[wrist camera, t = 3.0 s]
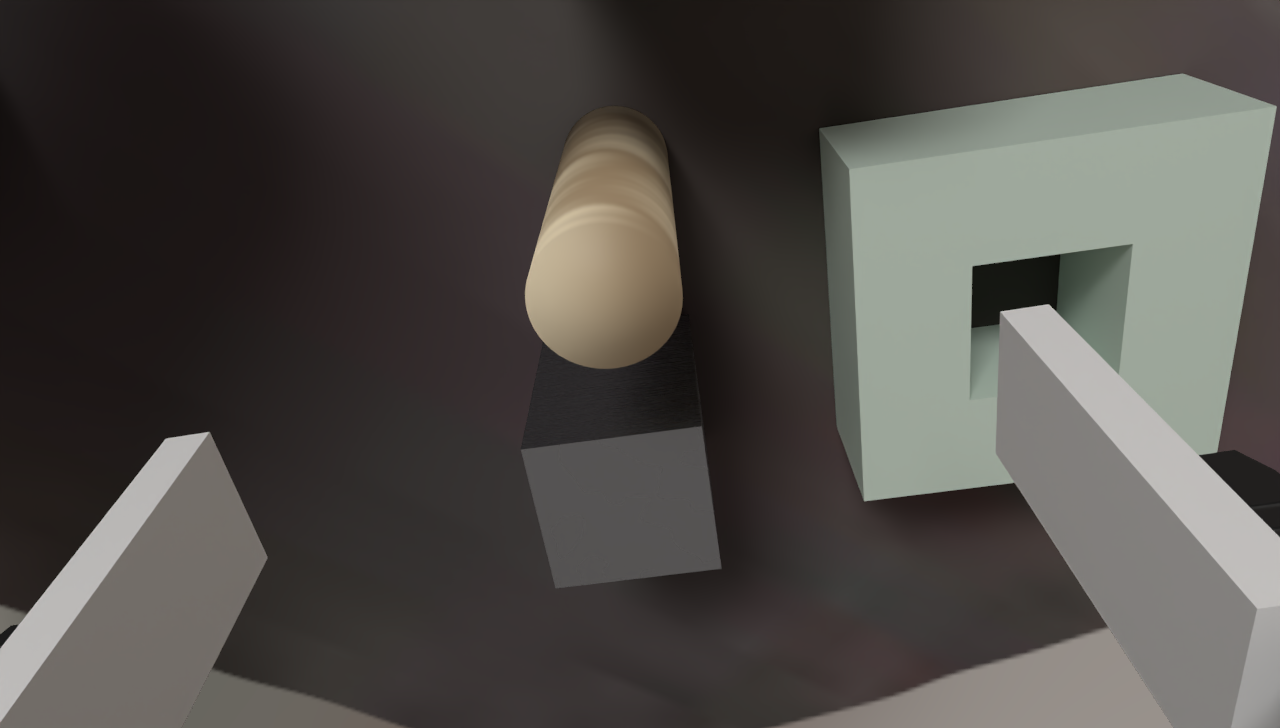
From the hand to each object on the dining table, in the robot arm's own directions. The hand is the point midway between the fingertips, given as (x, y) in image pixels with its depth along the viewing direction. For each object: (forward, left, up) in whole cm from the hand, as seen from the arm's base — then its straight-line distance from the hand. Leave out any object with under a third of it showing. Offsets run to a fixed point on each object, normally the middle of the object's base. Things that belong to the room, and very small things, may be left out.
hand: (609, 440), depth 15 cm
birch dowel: (0, 0, -18) cm, 18 cm away
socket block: (+13, -6, -18) cm, 23 cm away
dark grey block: (-1, -9, -18) cm, 20 cm away
